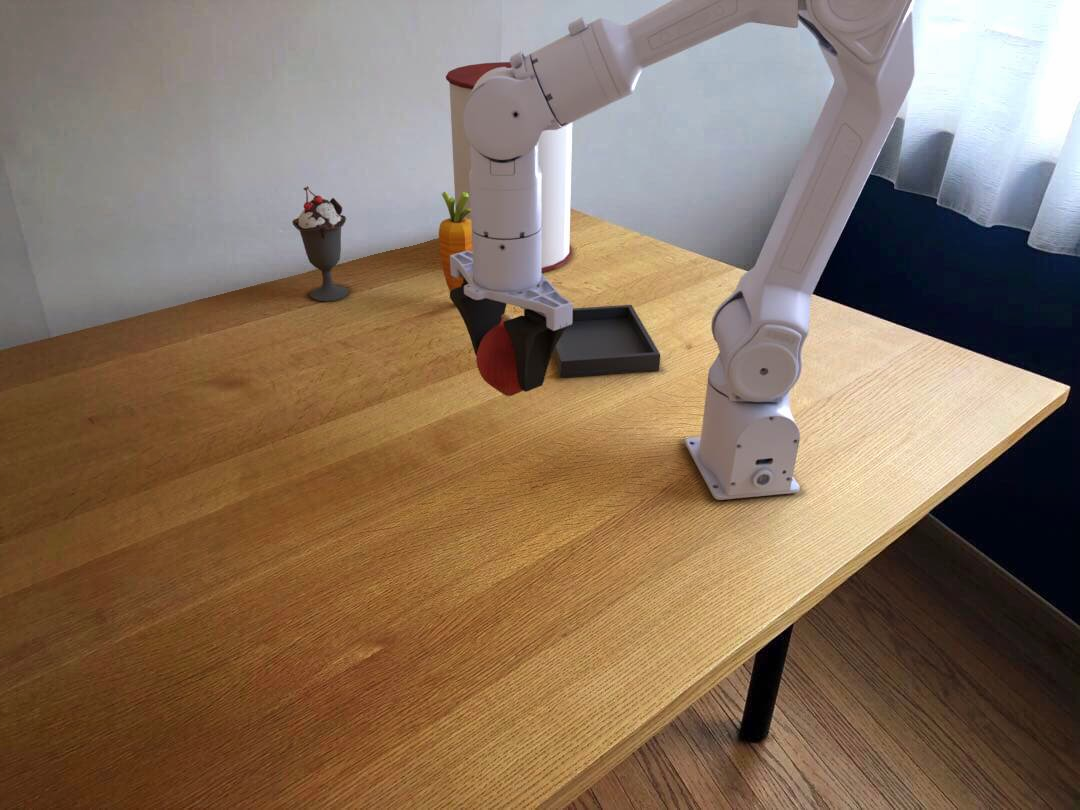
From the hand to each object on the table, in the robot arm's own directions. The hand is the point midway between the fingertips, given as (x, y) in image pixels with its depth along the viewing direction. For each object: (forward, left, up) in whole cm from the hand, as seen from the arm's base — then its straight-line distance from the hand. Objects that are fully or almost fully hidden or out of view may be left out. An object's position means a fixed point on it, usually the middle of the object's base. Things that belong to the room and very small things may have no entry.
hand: (509, 373), depth 77 cm
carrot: (+35, +2, -9) cm, 36 cm away
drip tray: (+21, -13, -9) cm, 26 cm away
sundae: (+41, +19, -9) cm, 46 cm away
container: (+52, -7, -9) cm, 53 cm away
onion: (0, 0, -2) cm, 2 cm away
